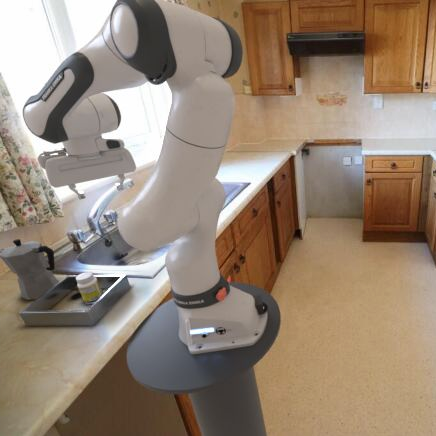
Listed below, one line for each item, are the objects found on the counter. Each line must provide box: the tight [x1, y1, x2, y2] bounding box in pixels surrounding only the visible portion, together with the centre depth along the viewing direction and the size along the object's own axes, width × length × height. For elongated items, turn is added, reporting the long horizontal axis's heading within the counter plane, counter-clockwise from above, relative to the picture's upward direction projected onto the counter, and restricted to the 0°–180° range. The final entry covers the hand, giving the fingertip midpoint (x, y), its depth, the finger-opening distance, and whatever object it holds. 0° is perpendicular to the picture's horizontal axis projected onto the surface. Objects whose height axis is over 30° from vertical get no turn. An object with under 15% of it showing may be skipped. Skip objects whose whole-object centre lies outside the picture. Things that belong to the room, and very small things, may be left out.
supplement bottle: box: [76, 271, 104, 305], centre depth 93 cm, size 5×5×8 cm
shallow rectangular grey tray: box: [18, 274, 131, 327], centre depth 91 cm, size 19×17×4 cm
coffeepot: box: [0, 238, 60, 301], centre depth 96 cm, size 15×9×18 cm, turn 90°
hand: (102, 193), depth 91 cm, fingers open, 8 cm apart
